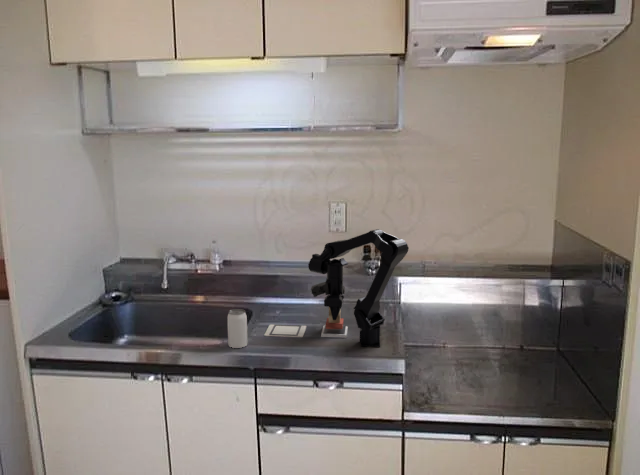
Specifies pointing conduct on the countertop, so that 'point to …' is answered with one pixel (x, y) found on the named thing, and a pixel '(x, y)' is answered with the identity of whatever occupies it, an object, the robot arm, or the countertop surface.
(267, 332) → the print sheet
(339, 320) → the stamp
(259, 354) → the countertop surface
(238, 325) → the can
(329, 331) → the ink pad
